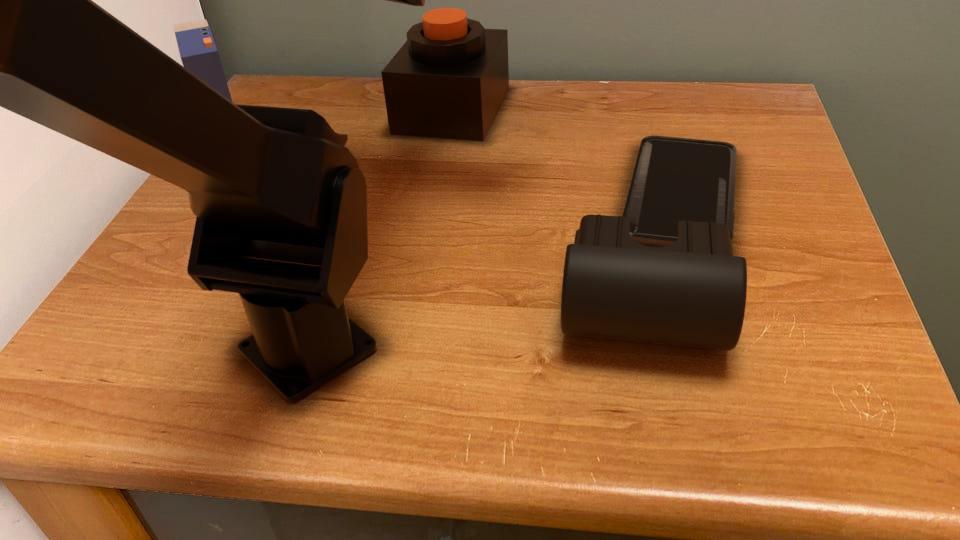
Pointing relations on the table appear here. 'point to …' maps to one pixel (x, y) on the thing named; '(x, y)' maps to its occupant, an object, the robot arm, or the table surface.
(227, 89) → the walkman
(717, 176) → the phone
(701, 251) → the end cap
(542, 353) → the table surface
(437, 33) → the orange push button
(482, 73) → the push button base
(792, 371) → the table surface
